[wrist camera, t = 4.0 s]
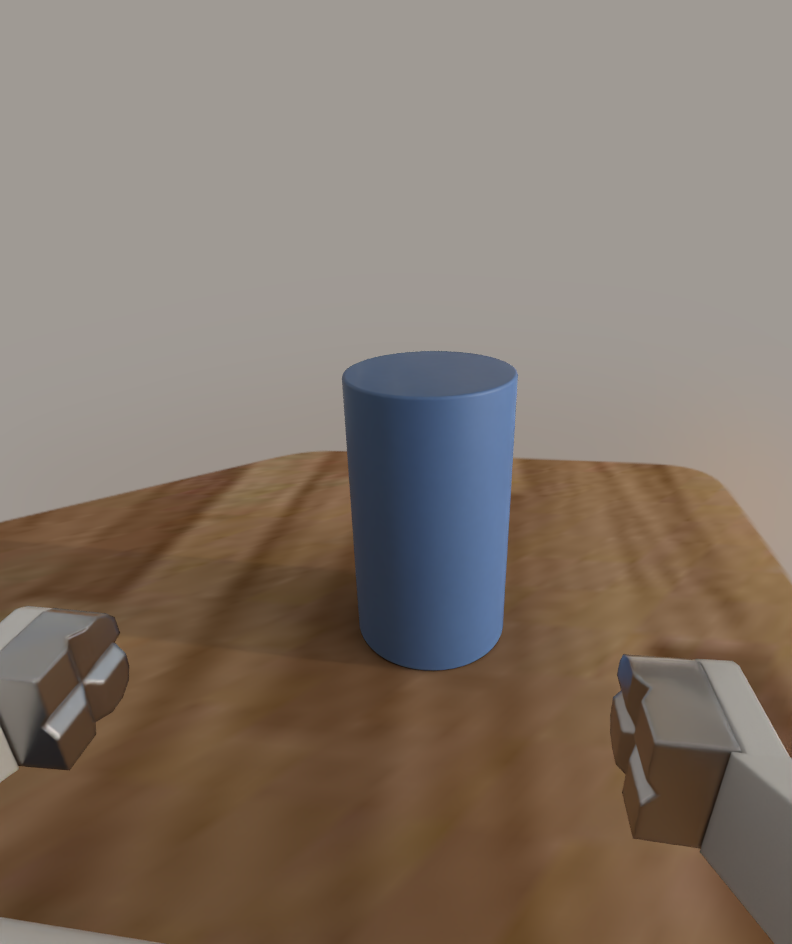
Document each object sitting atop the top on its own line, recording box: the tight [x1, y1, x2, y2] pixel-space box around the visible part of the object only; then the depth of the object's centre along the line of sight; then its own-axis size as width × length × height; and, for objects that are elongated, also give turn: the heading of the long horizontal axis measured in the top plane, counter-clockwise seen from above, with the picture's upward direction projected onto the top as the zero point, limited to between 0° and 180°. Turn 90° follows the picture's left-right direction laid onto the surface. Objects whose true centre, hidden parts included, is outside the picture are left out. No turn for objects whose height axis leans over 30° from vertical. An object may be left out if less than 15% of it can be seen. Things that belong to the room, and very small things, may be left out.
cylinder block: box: [342, 351, 518, 670], centre depth 21 cm, size 6×6×10 cm
